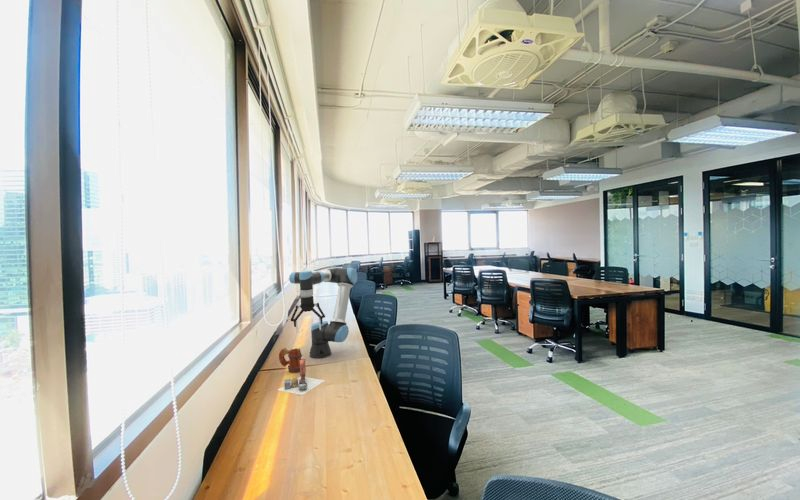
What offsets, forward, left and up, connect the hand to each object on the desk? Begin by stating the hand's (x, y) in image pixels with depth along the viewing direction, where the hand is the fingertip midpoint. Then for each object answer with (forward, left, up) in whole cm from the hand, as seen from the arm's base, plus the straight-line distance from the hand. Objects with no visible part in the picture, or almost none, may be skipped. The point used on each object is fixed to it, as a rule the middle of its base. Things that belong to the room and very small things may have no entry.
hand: (308, 330), depth 197 cm
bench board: (+17, +8, -26) cm, 33 cm away
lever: (+17, +9, -24) cm, 31 cm away
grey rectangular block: (+22, +3, -25) cm, 34 cm away
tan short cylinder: (+20, +6, -25) cm, 33 cm away
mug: (+3, -12, -27) cm, 29 cm away
